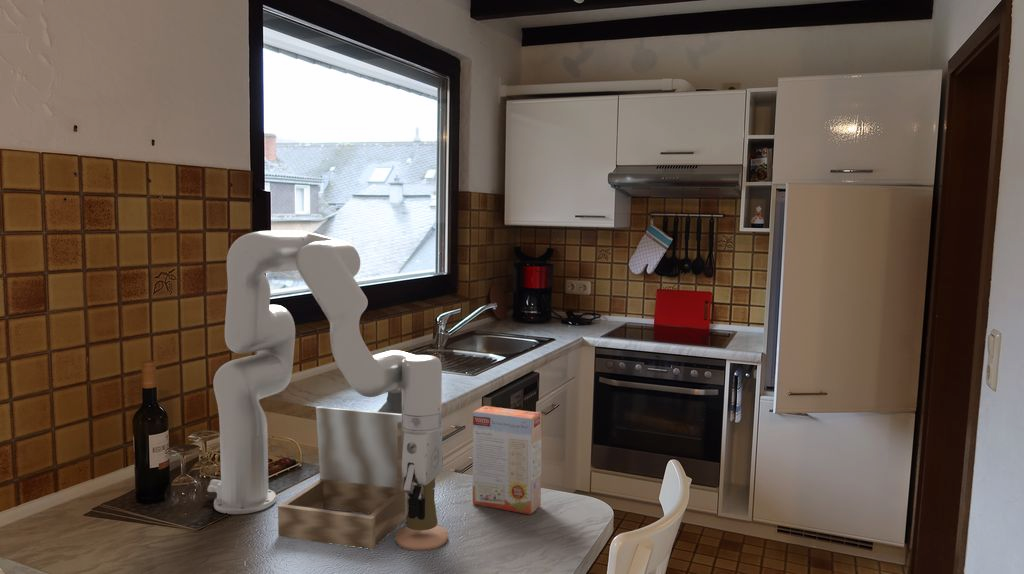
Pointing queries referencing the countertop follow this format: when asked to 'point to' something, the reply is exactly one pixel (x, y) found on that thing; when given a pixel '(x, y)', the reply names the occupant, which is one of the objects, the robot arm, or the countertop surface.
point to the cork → (430, 510)
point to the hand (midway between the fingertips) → (421, 512)
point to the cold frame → (351, 481)
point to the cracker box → (507, 459)
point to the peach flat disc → (421, 538)
